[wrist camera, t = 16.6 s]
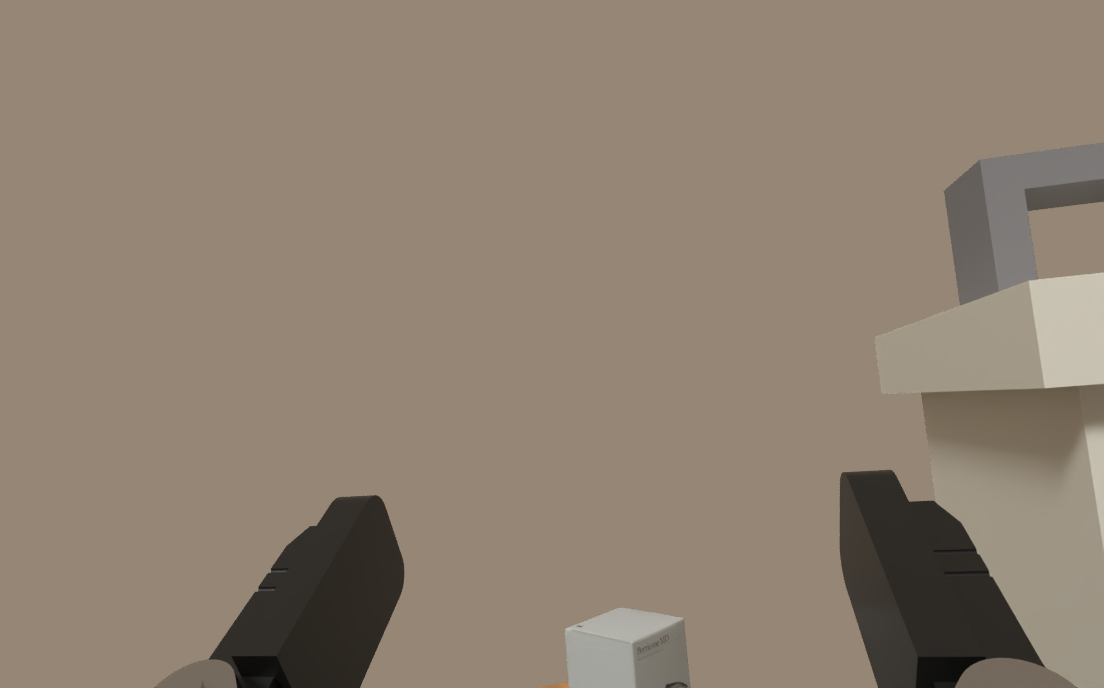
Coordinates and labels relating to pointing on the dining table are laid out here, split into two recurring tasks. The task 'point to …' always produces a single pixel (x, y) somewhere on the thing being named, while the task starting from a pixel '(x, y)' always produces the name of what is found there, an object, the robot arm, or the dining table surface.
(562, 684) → the dining table surface
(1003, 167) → the post
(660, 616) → the supplement box
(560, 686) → the dining table surface
